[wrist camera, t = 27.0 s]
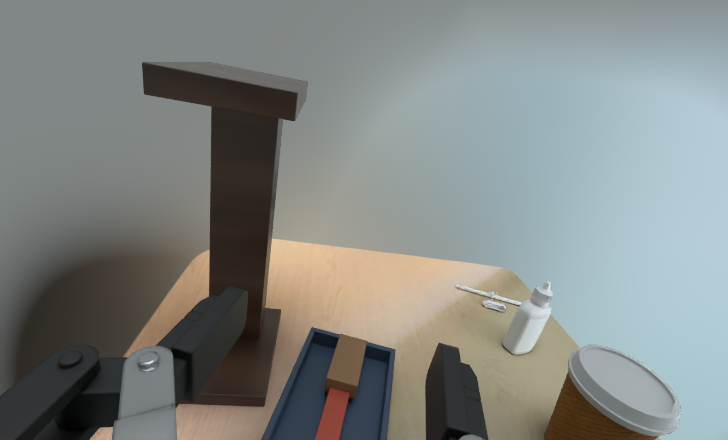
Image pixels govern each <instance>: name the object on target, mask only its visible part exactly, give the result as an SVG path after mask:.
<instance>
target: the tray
mask: <svg viewBox="0 0 728 440" xmlns="http://www.w3.org/2000/svg"><path fill="white" fill-rule="evenodd" d="M339 336H340V335H339V334H335V333H332V332H328V331H324V330H321V329H317V328H313V327H312V328H311V330H310V332H309V335H308V337H307V339H306V341H305V344H304V346H303V348H302V350H301V352H300V355H299V357H298V359H297V361H296V364H295V366H294V368H293V370H292V373H291V375H290V377H289V379H288V381H287V384H286V386H285V388H284V390H283V393H282V395H281V397H280V399H279V402H278V404H277V406H276V408H275V410H274V413H273V415H272V417H271V419H270V422H269V424H268V426H267V428H266V431H265V433H264V435H263V437H262V439H261V440H315V437H316V433H317V430H318V427H319V423H320V420H321V417H322V413H323V410H324V407H325V403H326V400H327V397H328V396H325V395H324V394H325V391H324V386H325V381H326V377H327V374H328V371H329V367H330V364H331V361H332V358H333V355H334V352H335V349H336V346H337V343H338V339H339ZM394 359H395V349H391V348H388V347H384V346H380V345H376V344H373V343H369V342H367V344H366V349H365V354H364V359H363V363H362V368H361V373H360V378H359V382H358V387H357V391H356V395H355V398H354V399H353V401H352V403H349V402H348V403H347V407H346V411H345V416H344V420H343V425H342V429H341V433H340V438H339V440H387V430H388V420H389V410H390V399H391V389H392V379H393V369H394Z"/></svg>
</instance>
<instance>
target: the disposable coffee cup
mask: <svg viewBox="0 0 728 440" xmlns="http://www.w3.org/2000/svg"><path fill="white" fill-rule="evenodd" d="M680 407H681V406H680V403H679V400H678V398H677V397H676V395H675V393H674V392H673V391H672V389H671V388H670V387H669V386H668V385H667V384H666V383H665V382H664V381H663V380H662V379H661V378H660V377H659V376H658V375H657V374H656V373H654V372H653V371H652V370H650V369H649V368H648V367H646V366H645V365H643V364H642V363H640V362H639V361H637V360H636V359H634V358H632V357H630V356H628V355H626V354H624V353H622V352H620V351H617V350H615V349H612V348H609V347H605V346H601V345H587V346H584V347H582V348H581V349H580V350H578V351H575V352H573V353H572V354H571V355H570V357H569V361H568V374H567V376H566V379H565V382H564V384H563V388H562V389H561V392H560V395H559V398H558V400H557V403H556V405H555V409H554V411H553V414H552V416H551V419H550V422H549V424H548V427H547V430H546V432H545V436H544V439H545V440H655V439H656V438H657V437H659V436H661V435H665V434H670V433H671V432H673V431H675V430H676V429H677V428H678V426H679V414H680Z"/></svg>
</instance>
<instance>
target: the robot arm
mask: <svg viewBox="0 0 728 440" xmlns="http://www.w3.org/2000/svg"><path fill="white" fill-rule="evenodd" d="M247 303H248V291H246V290H243V289H239V288H235V287H231V286H229V287H227V288H226V289H225V290H224V291H223V292H222V293H221V295H220V296H215V295H211V296H209V297H207V298H205V299H203V300H202V301H200V302H199V303H198V304H197V305H196V306H195V307H194V308H193V309H192V311H191V312H189V313H188V314H187V315H186V316H185V318H184V319H182V320H181V321H180V322H179V323H178V324H177V325H176V326H175V327H174V328H173V329H172V330H171V331H170V332H169V333H168V334H167V335H166V336H165V337H164V338H163V339H162V340H161V341H160V342H159V343H158V344H157V345H156V346H149V347H145V348H142V349H140V350H138V351H136V352H134V353H133V354H131V355H130V356H129V357H125V358H99V353H98V350H97V349H96V348H95V347H93V346H90V345H74V346H70V347H66V348H64V349H61V350H59V351H57V352H55V353H54V354H52V355H51V356H49V357H48V358H47V359H46V360H45V361H43V362H42V363H41V364H40V365H38V366H37V367H36V368H34V369H33V370H32V371H31V372H30V373H28V374H27V375H26V376H25V377H23V378H22V379H21V380H20V381H18V382H17V383H16V384H15V385H13V386H12V387H11V388H10V389H8V390H7V391H6V392H5V393H3V394H2V395H1V396H0V440H89V439H90V438H91V437H92V436H93V435H94V434H95V432H96V431H97V430H98V429H99V428H100V427H113V434H112V440H177V433H176V411H175V408H176V407H177V406H178V404H179V403H180V402H181V400H182V399H183V400H186V401H190V402H193V401H194V400H195V398H196V397H197V396H198V394H199V393H200V391H201V390H202V389H203V387H204V386H205V384H206V383H207V382H208V380H209V379H210V377H211V376H212V374H213V373H214V372H215V370H216V369H217V367H218V366H219V365H220V363H221V362H222V360H223V359H224V358H225V356H226V355H227V353H228V352H229V351H230V349H231V348H232V346H233V345H234V343H235V342H236V341H237V339H238V338H239V336H240V335H241V333H242V331H243V329H244V327H245V323H246V317H247ZM425 390H426V440H488V436H487V430H486V425H485V419H484V414H483V409H482V403H481V398H480V392H479V387H478V381H477V377H476V375H475V374H474V372H473V370H472V369H471V367H470V365H467V364H464V363H461V361H460V354H459V349H458V348H457V347H453V346H449V345H445V344H442V343H439V344H438V346H437V348H436V351H435V354H434V356H433V359H432V362H431V364H430V367H429V370H428V373H427V377H426V386H425Z"/></svg>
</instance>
